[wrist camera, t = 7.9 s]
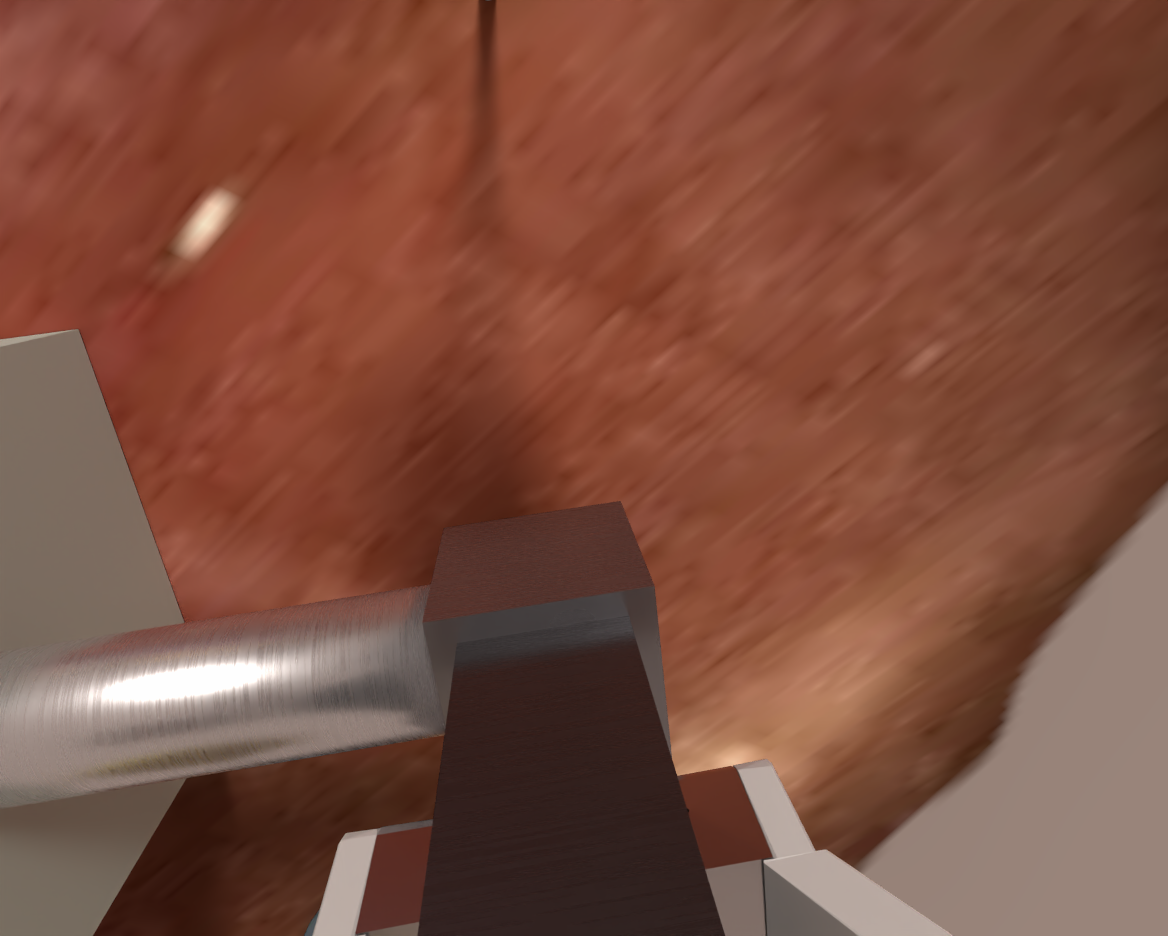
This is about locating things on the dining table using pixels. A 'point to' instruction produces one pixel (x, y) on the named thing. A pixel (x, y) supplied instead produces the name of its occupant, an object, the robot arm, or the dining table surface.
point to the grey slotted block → (70, 618)
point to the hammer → (420, 722)
